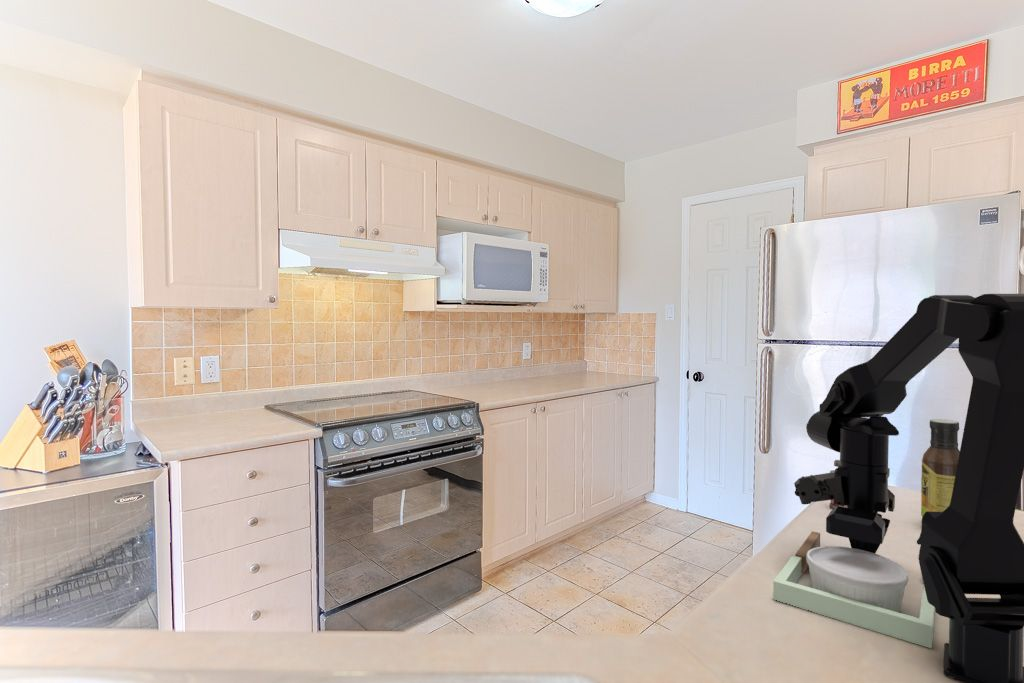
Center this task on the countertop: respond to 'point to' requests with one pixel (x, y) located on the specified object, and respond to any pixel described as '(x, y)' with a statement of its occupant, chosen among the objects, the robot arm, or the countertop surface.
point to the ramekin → (857, 575)
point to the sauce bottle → (939, 466)
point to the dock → (854, 608)
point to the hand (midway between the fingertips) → (861, 569)
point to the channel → (809, 544)
